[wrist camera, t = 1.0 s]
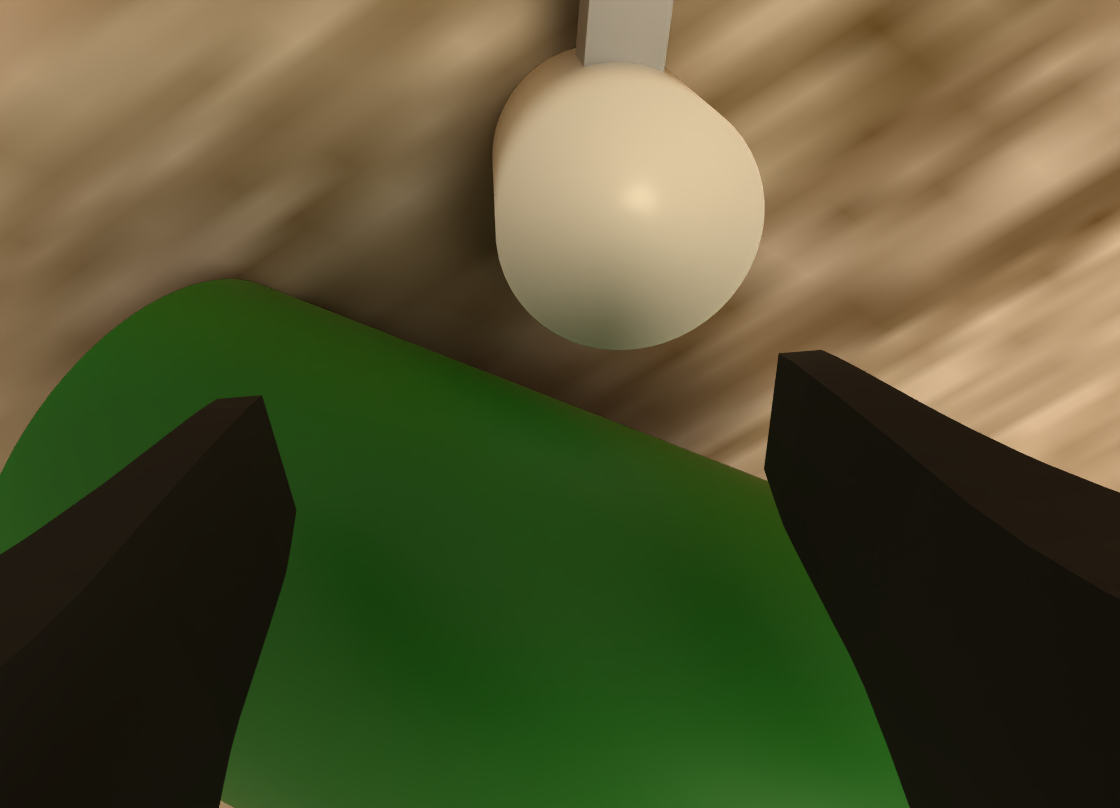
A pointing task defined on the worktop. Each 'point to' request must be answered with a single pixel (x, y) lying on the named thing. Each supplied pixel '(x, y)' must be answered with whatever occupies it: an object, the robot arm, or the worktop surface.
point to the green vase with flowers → (479, 580)
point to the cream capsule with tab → (621, 188)
